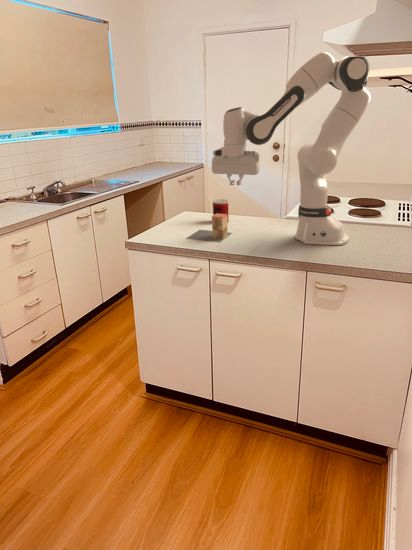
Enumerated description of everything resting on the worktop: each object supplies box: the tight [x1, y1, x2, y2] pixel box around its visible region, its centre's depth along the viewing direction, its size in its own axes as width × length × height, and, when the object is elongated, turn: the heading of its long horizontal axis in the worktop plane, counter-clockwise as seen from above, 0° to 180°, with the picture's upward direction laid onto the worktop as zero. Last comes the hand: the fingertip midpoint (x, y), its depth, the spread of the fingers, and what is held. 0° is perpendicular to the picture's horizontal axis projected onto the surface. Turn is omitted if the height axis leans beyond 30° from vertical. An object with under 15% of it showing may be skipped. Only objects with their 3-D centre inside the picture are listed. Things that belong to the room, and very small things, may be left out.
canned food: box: [212, 198, 230, 224], centre depth 205 cm, size 8×8×11 cm
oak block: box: [211, 213, 228, 240], centre depth 182 cm, size 5×5×10 cm
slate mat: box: [185, 229, 233, 243], centre depth 187 cm, size 17×14×1 cm
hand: (235, 185), depth 172 cm, fingers closed
